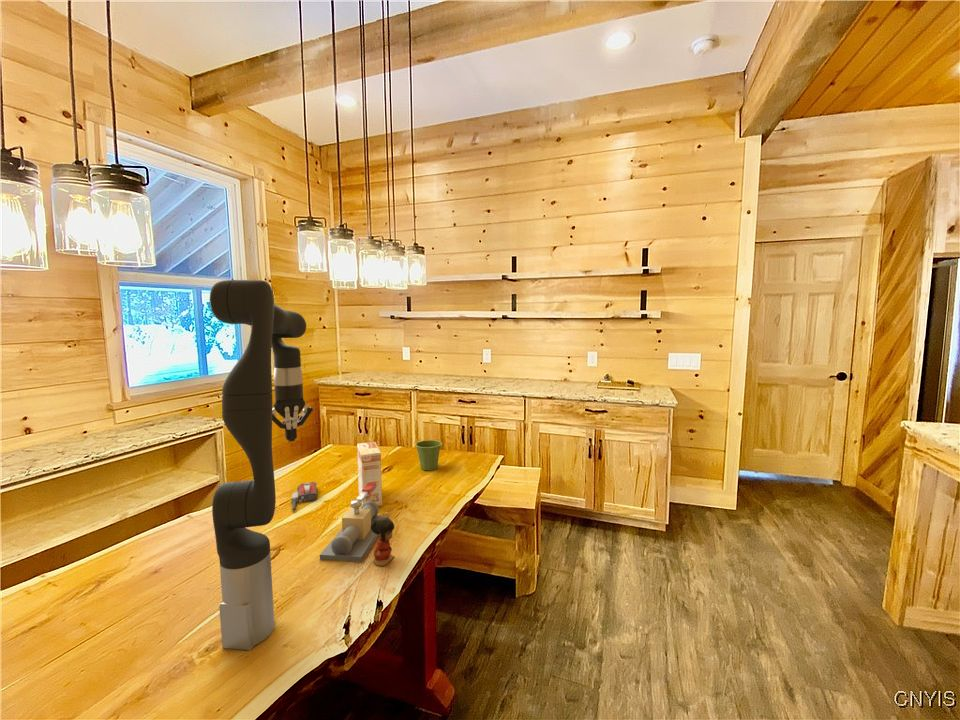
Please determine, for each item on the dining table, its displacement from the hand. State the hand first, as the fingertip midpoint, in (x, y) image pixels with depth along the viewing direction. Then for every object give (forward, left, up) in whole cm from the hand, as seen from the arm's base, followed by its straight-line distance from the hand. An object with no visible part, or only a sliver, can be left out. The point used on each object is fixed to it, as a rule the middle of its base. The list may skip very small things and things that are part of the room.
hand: (291, 440), depth 122 cm
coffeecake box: (+30, -12, -31) cm, 45 cm away
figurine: (-8, -30, -31) cm, 44 cm away
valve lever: (+9, -18, -21) cm, 29 cm away
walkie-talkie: (+28, +12, -32) cm, 44 cm away
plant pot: (+63, -27, -31) cm, 75 cm away
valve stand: (+3, -18, -31) cm, 36 cm away
